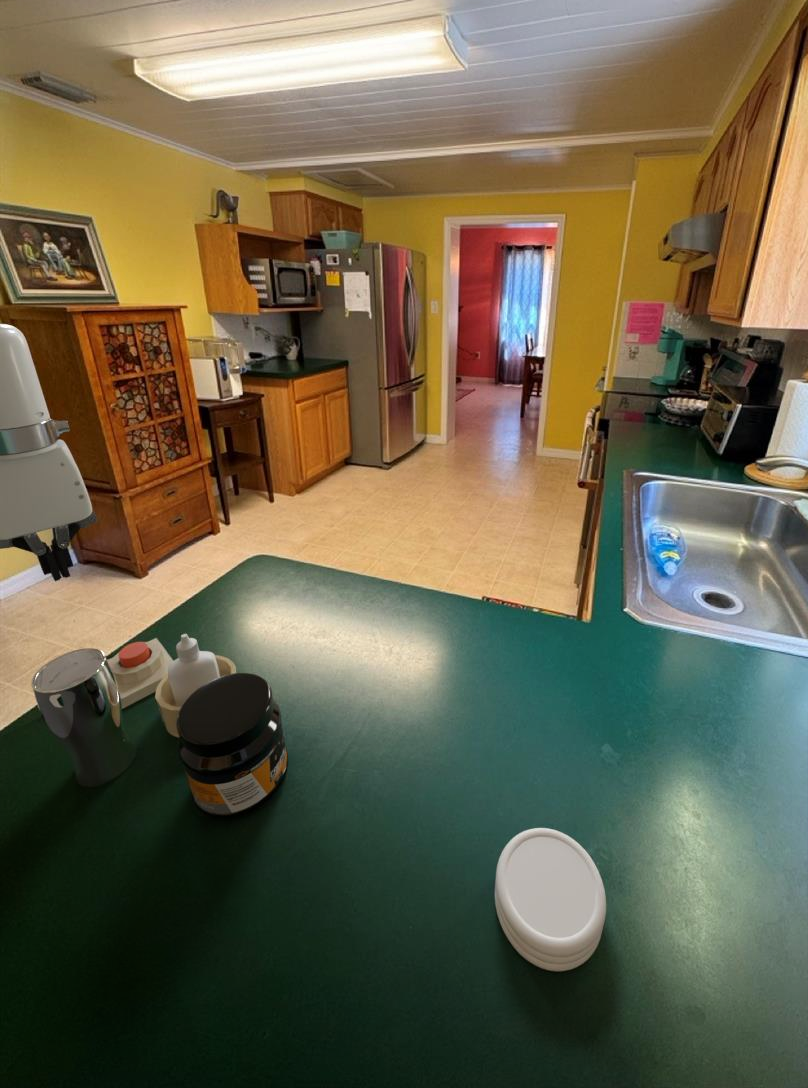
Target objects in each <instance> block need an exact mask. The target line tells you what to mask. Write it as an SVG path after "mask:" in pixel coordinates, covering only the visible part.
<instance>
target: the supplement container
mask: <svg viewBox="0 0 808 1088" xmlns="http://www.w3.org/2000/svg"><path fill="white" fill-rule="evenodd" d="M273 694H274V693H273V690H272V686H271V685H270V683H269V682H268V680H266V679H265V678H263V677H262V676H260V675H258V674H254V673H250V672H237V673H234V674H229V675H225V676H221V677H219V678H216V679H214V680H212V681H210V682H208V683H206V684H204V685H203V686H201V687H200V688H198V689H197V690H196V691H195V692H194V693H192V694H191V695H190V696H189V697H188V699H187V700H186V701H185V702H184V704H183V705H182V707H181V708H180V710H179V713H178V716H177V721H176V725H177V730H178V734H179V737H178V740H177V755H178V757H179V761H180V762H181V764H182V765H183V769H184V771H185V775H186V778H187V780H188V785H189V788H190V791H191V792H190V793H191V798H192V802H193V803H194V805H195V807H196V809H197V810H198V811H199V812H200V813H201V814H202V815H204V816H205V817H207V818H210V819H212V820H217V821H232V820H236V819H241V818H244V817H246V816H248V815H250V814H253V813H254V812H256V811H257V810H259V809H260V808H262V807H263V806H265V805H266V804H267V803H268V802H269V801H270V800H271V799H272V798H273V797H274V796H275V795H276V794H277V792H278V791H279V790H280V788H281V786H282V785H283V783H284V781H285V779H286V776H287V772H288V768H289V754H288V750H287V747H286V742H285V741H286V740H285V736H284V731H283V725H282V713H281V712H282V711H281V708H280V706H279V704H278V702H277V701H276V700H275V698H274V695H273Z"/></svg>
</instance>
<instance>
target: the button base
mask: <svg viewBox="0 0 808 1088" xmlns="http://www.w3.org/2000/svg"><path fill="white" fill-rule="evenodd" d="M144 642H145V643H146V644H147V645H148V649H149V652H150V657H149V659H148V660H147V661H145V662H144V663H142V664H140V665H138V666H136V667H130V668H125V667H123V666H122V665H121V662H120V659H119V652H117V653H116V654H115V655H114V656H113V657H110V658H109V659H107V661H108V663H109V665H110V667H111V669H112V671H113V673H114V675H115V678H116V680H117V683H118V687H119V690H120V696H121V703H122V710H123V709H125V708H127V707H129V706H130V705H133V704H134V703H136V702H138V701H140V700H142V699H144V698H146V697H148V696H150V695H152V694H155V693H156V688H157V686H158V685H159V683H160V682H161V680H162V679H163V677H164V676H165V675H166V674H168V667H169V665H170V664H171V663H172V662H173V661H174V659H173V658H172V657H171V655H170V653H168V651H167V650H166V648H165V647H164V646H163V644H162V643H161V642H160V641H159V639H158V637H155V638H153V639H151V640H149V641H144Z"/></svg>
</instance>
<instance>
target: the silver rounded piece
mask: <svg viewBox="0 0 808 1088" xmlns="http://www.w3.org/2000/svg"><path fill="white" fill-rule="evenodd" d="M107 660H108V659H107V657H106V654H105V652H104V651H103V650H101V649H98V648H94V647H91V648H89V647H87V648H86V647H85V648H79V649H75V650H72V651H68V652H66V653H63V654H61V655H59V656H57V657H55V658H53V659H51V660H49V661H48V662H47V663H45V664H44V665H42V667H40V668H39V669H38V670H37V671H36V673H34V675H33V676H32V678H31V681H30V686H31V688H32V690H33V691H32V692H33V694H34V697H35V698H34V699H35V701H36V704H37V708H38V710H39V713H40V715H41V718H42V719H43V722H44V724H45V725H46V727H47V728H48V730H49V731H50V733H51V734H52V735H53V737H55V739H56V740H57V741H58V742H59V743H60V745H62V747H63V748H64V749H65V750H66V751H67V752H68V754H69V755H70V758H71V759H72V762H73V765H74V771H75V772H74V774H75V780H76V782H77V783H78V784H79V785H80V786H81V787H86V788H96V787H99V786H103V785H106V784H108V783H110V782H112V781H113V780H115V779H117V778H118V777H120V776H121V775H122V774H123V773H124V772H125V771H126V770H128V768H130V766H131V765H132V764H133V762H134V760H135V758H136V754H137V747H136V745H135V744H134V742H133V741H132V740H131V738H130V737H129V736H128V734H127V733H126V730H125V726H124V718H123V709H122V703H121V696H120V690H119V687H118V683H117V680H116V678H115V675H114V673H113V671H112V669H111V667H110V665H109V663H108V661H107Z"/></svg>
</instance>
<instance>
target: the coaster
mask: <svg viewBox="0 0 808 1088" xmlns="http://www.w3.org/2000/svg"><path fill="white" fill-rule="evenodd" d="M494 905H495V911H496V915H497V918H498V921H499V924H500V926H501V928H502V930H503V933H504V935H505V937H506V938H507V940H508V941H509V942H510V944H511V946H512V947H513V948H514V949H515V950H516V952H517V953H518V954H519V955H520V956H521V957H523V958H524V959H525V960H526V961H527V962H529V963H531V964H533V966H536V967H538V968H540V969H543V970H547V971H551V972H566V971H570V970H574V969H576V968H578V967H580V966H581V965H583V964H584V963H585V962H587V961H588V960H589V959H590V958H591V956H592V955H593V954H594V953H595V951H596V950H597V948H598V946H599V943H600V940H601V938H602V933H603V929H604V925H605V921H606V917H607V916H606V915H607V898H606V891H605V886H604V882H603V880H602V876H601V873H600V871H599V869H598V867H597V866H596V863H595V862H594V860H593V859H592V857H591V856H590V854H589V853H588V852H587V850H585V848H584V847H583V846H582V845H581V844H580V843H579V842H577V841H576V840H575V839H574V838H572V837H571V836H570V835H568V834H566V833H564V832H562V831H559V830H556V829H551V828H547V827H534V828H530V829H526V830H523V831H521V832H519V833H518V834H516V835H515V836H513V837H512V838H511V839H510V840H509V841H508V842H507V844H506V845H505V847H504V848H503V849H502V851H501V854H500V855H499V858H498V861H497V865H496V870H495V882H494Z"/></svg>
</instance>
